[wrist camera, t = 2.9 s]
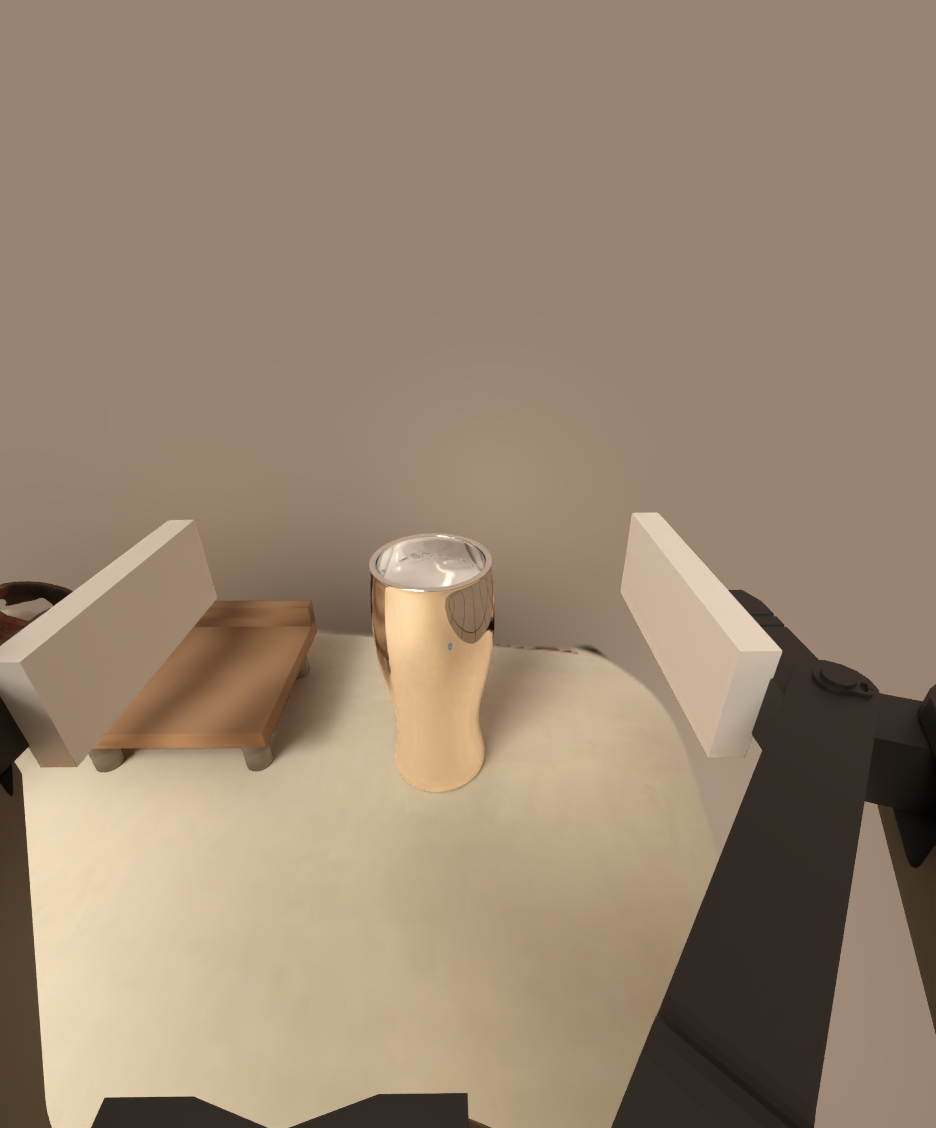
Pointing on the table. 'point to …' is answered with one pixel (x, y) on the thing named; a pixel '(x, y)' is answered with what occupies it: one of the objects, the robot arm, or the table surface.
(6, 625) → the broken clay pot
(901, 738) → the robot arm
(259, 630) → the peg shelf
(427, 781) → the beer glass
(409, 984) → the table surface
